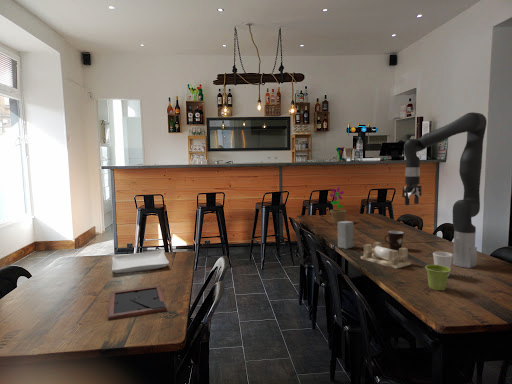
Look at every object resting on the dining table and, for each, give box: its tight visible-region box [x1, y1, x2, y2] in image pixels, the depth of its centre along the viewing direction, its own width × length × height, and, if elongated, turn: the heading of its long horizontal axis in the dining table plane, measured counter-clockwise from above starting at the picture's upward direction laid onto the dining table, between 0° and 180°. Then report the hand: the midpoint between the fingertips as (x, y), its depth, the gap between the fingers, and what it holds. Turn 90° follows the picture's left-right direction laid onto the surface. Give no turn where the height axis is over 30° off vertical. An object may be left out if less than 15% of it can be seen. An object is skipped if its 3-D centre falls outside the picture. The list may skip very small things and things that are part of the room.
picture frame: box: [107, 284, 168, 321], centre depth 139 cm, size 20×2×25 cm
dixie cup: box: [432, 251, 453, 277], centre depth 165 cm, size 8×8×10 cm
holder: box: [360, 241, 412, 269], centre depth 188 cm, size 22×12×8 cm, turn 33°
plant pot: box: [425, 264, 452, 291], centre depth 149 cm, size 9×9×9 cm
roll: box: [372, 246, 403, 261], centre depth 188 cm, size 19×6×6 cm, turn 34°
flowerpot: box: [329, 186, 348, 225], centre depth 301 cm, size 14×14×30 cm
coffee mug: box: [384, 230, 404, 251], centre depth 213 cm, size 12×9×10 cm
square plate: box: [111, 250, 170, 274], centre depth 188 cm, size 27×27×4 cm
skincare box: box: [337, 220, 355, 250], centre depth 219 cm, size 8×7×16 cm
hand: (411, 204), depth 199 cm, fingers open, 8 cm apart
